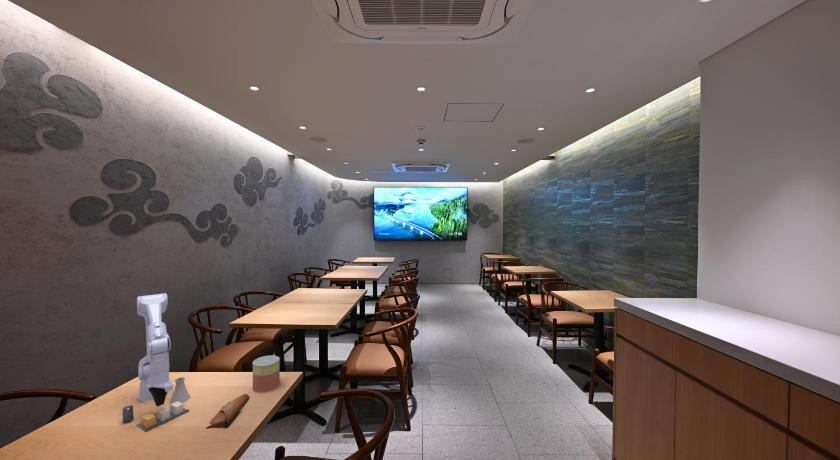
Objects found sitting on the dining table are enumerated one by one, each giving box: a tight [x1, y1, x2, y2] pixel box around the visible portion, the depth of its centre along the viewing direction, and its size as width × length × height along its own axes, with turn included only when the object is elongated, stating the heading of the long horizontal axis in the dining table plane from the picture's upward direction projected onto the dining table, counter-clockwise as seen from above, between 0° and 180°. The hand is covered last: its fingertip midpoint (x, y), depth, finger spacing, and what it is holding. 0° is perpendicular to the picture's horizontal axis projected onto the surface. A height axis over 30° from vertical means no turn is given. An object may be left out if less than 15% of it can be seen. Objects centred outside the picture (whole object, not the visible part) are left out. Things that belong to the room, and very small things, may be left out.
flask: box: [169, 376, 191, 404], centre depth 133 cm, size 7×7×10 cm
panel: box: [135, 407, 190, 433], centre depth 121 cm, size 8×14×2 cm, turn 153°
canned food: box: [252, 354, 281, 394], centre depth 146 cm, size 11×11×12 cm
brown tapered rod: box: [205, 393, 250, 429], centre depth 125 cm, size 18×7×7 cm
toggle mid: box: [156, 406, 170, 421], centre depth 121 cm, size 4×2×3 cm, turn 63°
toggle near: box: [169, 401, 184, 415], centre depth 125 cm, size 4×2×3 cm, turn 63°
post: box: [121, 404, 135, 424], centre depth 119 cm, size 4×4×6 cm
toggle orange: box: [141, 413, 157, 428], centre depth 117 cm, size 4×2×3 cm, turn 63°
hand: (159, 404), depth 121 cm, fingers closed
